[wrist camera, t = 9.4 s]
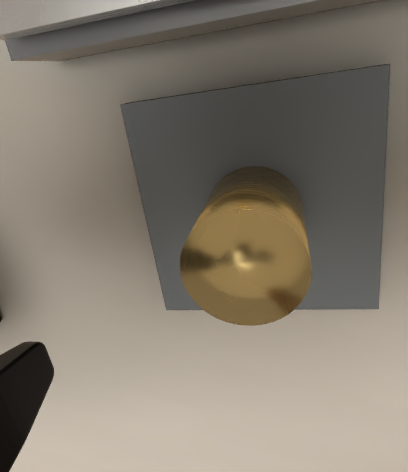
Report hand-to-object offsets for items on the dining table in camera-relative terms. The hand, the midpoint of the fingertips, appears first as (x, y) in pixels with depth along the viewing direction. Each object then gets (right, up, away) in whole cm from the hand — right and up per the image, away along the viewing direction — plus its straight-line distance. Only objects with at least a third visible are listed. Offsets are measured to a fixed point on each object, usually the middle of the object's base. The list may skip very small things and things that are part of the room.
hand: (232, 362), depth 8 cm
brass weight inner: (+2, +4, +8) cm, 9 cm away
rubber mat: (+2, +4, +9) cm, 10 cm away
